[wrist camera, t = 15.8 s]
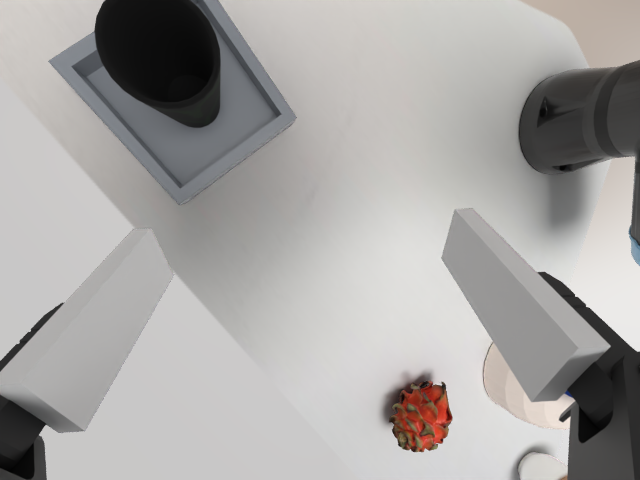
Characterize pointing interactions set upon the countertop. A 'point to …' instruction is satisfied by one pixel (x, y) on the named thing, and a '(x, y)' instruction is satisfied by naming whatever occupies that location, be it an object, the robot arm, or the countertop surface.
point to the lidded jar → (542, 467)
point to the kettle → (521, 395)
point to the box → (173, 137)
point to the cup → (162, 56)
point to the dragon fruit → (422, 417)
